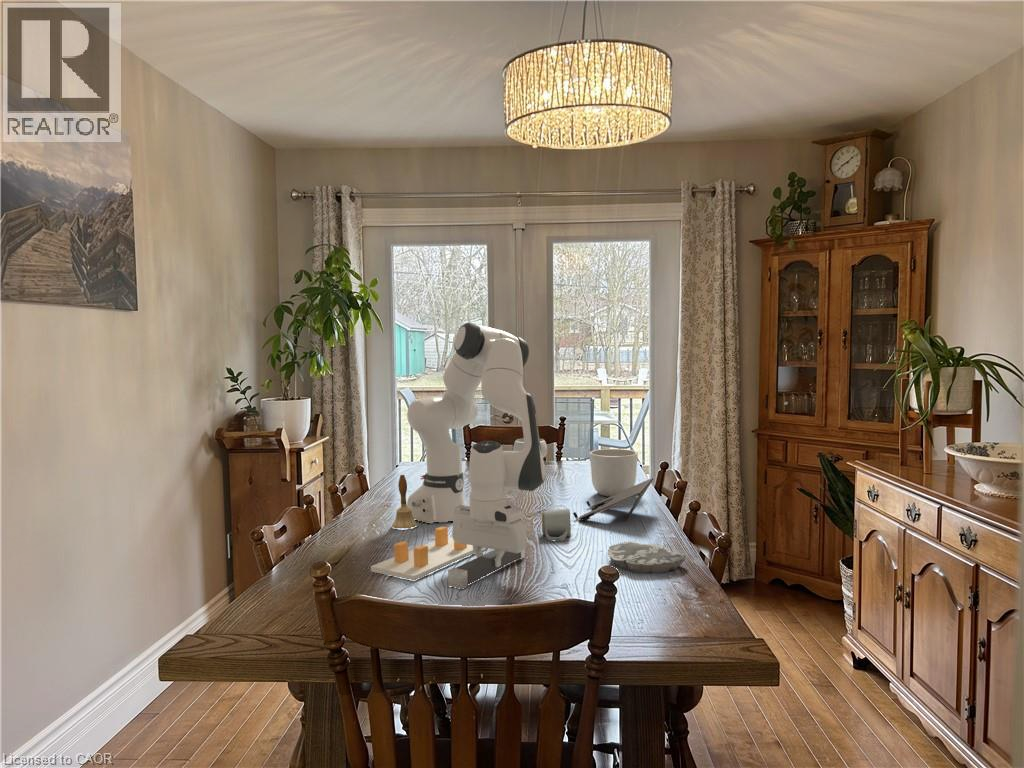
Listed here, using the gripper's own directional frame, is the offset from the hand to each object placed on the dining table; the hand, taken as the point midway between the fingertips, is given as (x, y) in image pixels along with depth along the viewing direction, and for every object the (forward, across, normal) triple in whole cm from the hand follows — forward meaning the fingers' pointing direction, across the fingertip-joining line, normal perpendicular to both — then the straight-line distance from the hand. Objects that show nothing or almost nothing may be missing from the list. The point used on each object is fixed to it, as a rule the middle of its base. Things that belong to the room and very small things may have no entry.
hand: (489, 564), depth 174 cm
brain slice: (+2, +30, +24) cm, 38 cm away
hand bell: (+2, -46, +21) cm, 51 cm away
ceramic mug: (+2, 0, +35) cm, 35 cm away
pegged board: (+2, -18, 0) cm, 18 cm away
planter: (+2, -9, +91) cm, 91 cm away
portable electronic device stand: (+2, +4, +63) cm, 63 cm away
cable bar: (+2, 0, 0) cm, 2 cm away
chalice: (+2, -52, +104) cm, 116 cm away
